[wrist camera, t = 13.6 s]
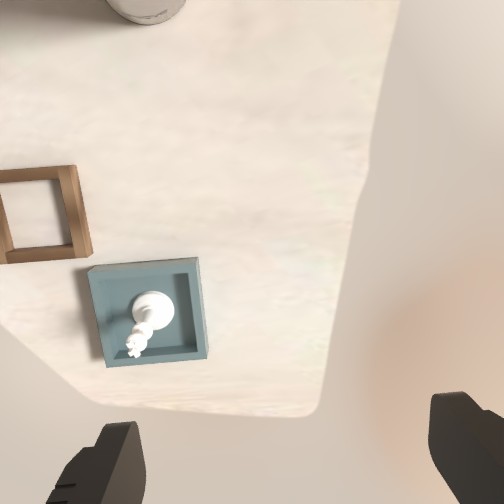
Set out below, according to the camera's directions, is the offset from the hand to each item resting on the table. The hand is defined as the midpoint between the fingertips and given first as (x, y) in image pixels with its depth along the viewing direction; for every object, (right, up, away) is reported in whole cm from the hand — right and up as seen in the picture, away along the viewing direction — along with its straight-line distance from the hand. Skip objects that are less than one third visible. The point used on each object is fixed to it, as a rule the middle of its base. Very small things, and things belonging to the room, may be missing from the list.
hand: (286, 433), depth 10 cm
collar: (-25, +9, +31) cm, 40 cm away
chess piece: (-13, -2, +34) cm, 36 cm away
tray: (-13, -2, +34) cm, 37 cm away
